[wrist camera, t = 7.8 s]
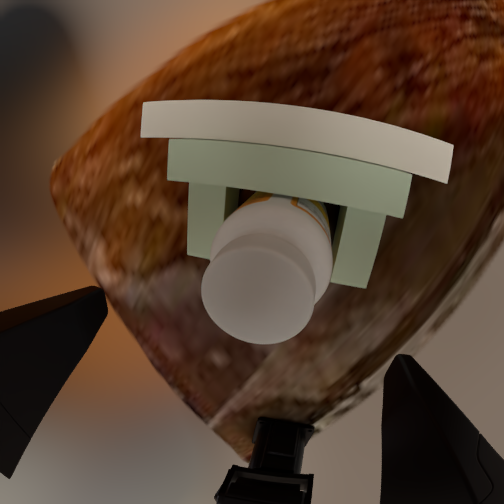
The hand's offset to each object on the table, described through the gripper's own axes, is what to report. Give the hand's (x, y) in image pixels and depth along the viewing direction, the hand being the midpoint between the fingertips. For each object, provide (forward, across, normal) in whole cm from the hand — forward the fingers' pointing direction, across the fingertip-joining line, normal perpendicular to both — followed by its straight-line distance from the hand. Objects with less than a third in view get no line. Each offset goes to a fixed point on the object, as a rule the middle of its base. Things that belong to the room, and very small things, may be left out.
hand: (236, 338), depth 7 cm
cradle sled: (+12, 0, -1) cm, 12 cm away
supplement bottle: (+12, 0, 0) cm, 12 cm away
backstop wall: (+12, 0, -6) cm, 13 cm away
